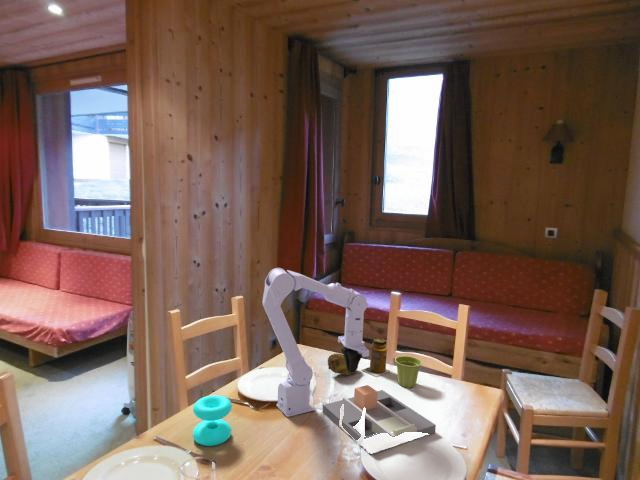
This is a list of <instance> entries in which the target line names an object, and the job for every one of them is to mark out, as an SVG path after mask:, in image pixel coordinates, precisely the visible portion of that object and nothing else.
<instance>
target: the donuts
mask: <svg viewBox="0 0 640 480" xmlns="http://www.w3.org/2000/svg"><path fill="white" fill-rule="evenodd" d="M232 404H233V403H232V402H231V400H230V398H227V397H226V396H223V395H217V394H216V395H215V394H213V395H207V396H203V397H201V398H199V399H198V400H197V401H196V402H195V403H194V404H193V410H192V411H193V413H194V415H195V416H196V418H198V419H200V420H201V422H199V423H198V424H197V425H196V426H195V427H194V429H193V431H192V437H193V439H194V441H195V442H196V443H197V444H198V445H199V444H200V445H201V446H206V447H213V446H218V445H221V444H223V443H225V442H226V441H227V440H228V439H229V438H230V437H231V435H232V427H231V425H230V424H229V422H228V421H226V420H223V419H224V418H225V417H227V416H228V415H229V414H230V413H231V411H232V407H233V405H232Z"/></svg>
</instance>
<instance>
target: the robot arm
mask: <svg viewBox="0 0 640 480" xmlns="http://www.w3.org/2000/svg"><path fill="white" fill-rule="evenodd" d="M300 289H304V290H307V291H310V292H313V293H316V294H320V295H323V297H324V299H325V301H326V302H329V303H331V304H335V305H338V306H341V307H343V308H345V319H344V323H345V324H344V335H341V336H340V335H339V336H338V337H337V343H339V344H342V345H343V347H342V348H341V354H343V355H344V358H345V362H346V367H347V370H348V371H350V372H351V373H352V372H354V373H356V372H357V371H358V368H359V364H360V361H361V359H362V358H366V357H370V349H368V348H367V347H366V346H365V343H366V342H365V341H363V336H364V335H363V334H364V331H363V330H364V319H365V317H364V314H365V311H366V310H367V309H368V305H369V303H368V301H367V298H366V297H365V296H364V295H363V294H361V293H359V292H358V291H356V290H355V289H352V288H351V287H350V288H347V287H345V286H344V287H343V286H342V284H341V283H339V282H335V283H334V282H332V283H329V284H326V283H325V284H324V283H323V282H320V281H318V280H315V279H314V278H311V277H309V276H306V275H304V274H301V273H300V272H296V271H292V270H289V269H287V270H285V269H284V268H281V267H276V268H275V267H274V268H273V269H271V270H270V271H269V272H268V274H267V276H266V277H265V280H264V290H263V293H262V294H263V295H262V300H261V302H262V307H263V308H264V311H265V313H266V315H267V317H268V320H269V323H270V325H271V327H272V329H273V332H274V334H275V336H276V338H277V340H278V343H279V345H280V348H281V349H282V353H283V354H284V358H285V368H286V370H287V371H288V375H287V377H286V380H285V381H283V382H281V383H279V385H278V387H277V403H276V407H277V408H278V409H279V410H280V412H281V413H283V414H284V416H285V417H287V418H289V417H294V416H297V415H300V414H304V413H308V412H313V411H316V410H315V409H316V408H315V407H313V405H311V403H310V397H311V396H310V394H311V393H310V392H311V380H312V378H313V376H314V371H313V369H312V367H311V366H310V365H309V364H308V362H307V361H306V359H305V357H304V356H303V354H302V353H301V351H300V349H299V346H298V344H297V341H296V339H295V337H294V335H293V332H292V330H291V328H290V325H289V323H288V321H287V318H286V316H285V313H284V312H283V309H282V307H281V306H282V303H283V302H284V300H285V298H286V297H287V296H288V295H289V294H290V293H291V292H292V291H295V292H296V291H298V290H300ZM357 367H358V368H357Z"/></svg>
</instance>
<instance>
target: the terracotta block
mask: <svg viewBox="0 0 640 480" xmlns="http://www.w3.org/2000/svg"><path fill="white" fill-rule="evenodd" d="M377 391H378V390H376V389H375V388H373V387H372V386H370V385H368V384H366V385H362V386H357V387H355V388H354V394H353V397H354V404H355V405H356V406H358V407H359V408H360V409H362V410H363V408H364V407H365V408H366V410H369V409H373V408H376V407H377V396H378V392H377Z"/></svg>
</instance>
